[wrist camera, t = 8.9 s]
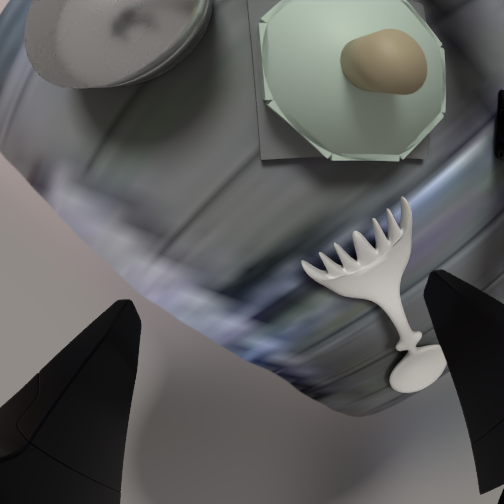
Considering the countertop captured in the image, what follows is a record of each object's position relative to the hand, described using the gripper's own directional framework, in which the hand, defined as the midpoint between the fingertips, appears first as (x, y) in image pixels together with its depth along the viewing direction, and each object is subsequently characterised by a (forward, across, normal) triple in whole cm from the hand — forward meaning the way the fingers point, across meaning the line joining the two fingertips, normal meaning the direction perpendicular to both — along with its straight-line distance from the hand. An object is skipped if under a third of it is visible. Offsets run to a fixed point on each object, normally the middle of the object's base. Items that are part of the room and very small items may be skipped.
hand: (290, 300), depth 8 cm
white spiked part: (+12, -14, +17) cm, 25 cm away
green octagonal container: (+11, -6, -7) cm, 15 cm away
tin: (+12, +7, -12) cm, 18 cm away
